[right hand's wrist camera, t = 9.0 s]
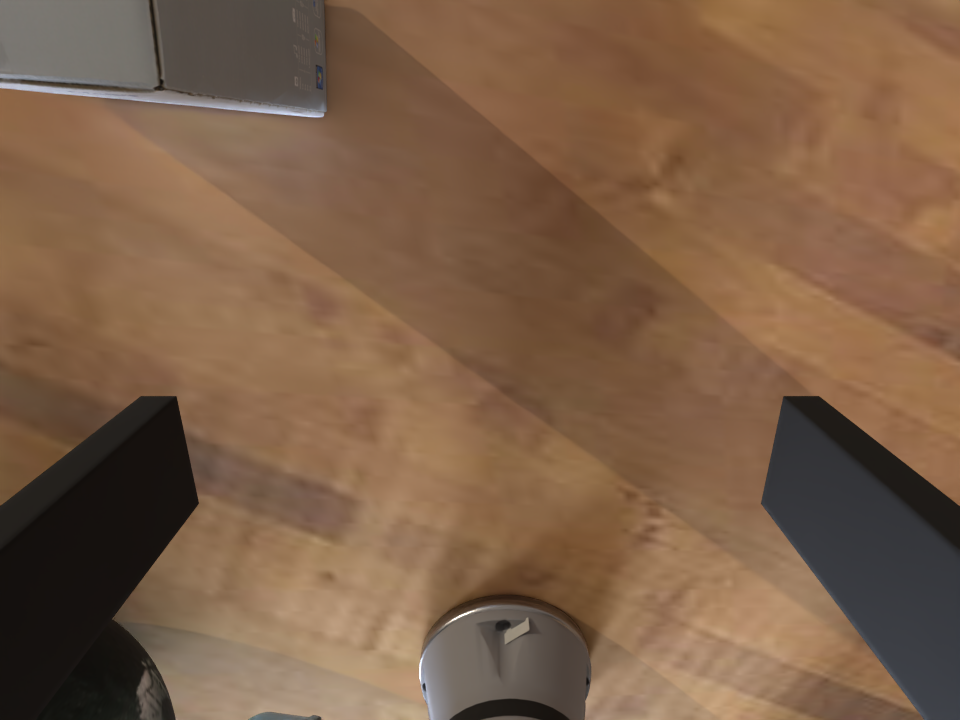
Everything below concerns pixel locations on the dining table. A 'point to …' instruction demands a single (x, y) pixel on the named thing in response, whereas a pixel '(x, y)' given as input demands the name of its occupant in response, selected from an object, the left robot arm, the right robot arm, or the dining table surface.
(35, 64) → the hard drive box
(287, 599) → the dining table surface
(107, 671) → the sphere
